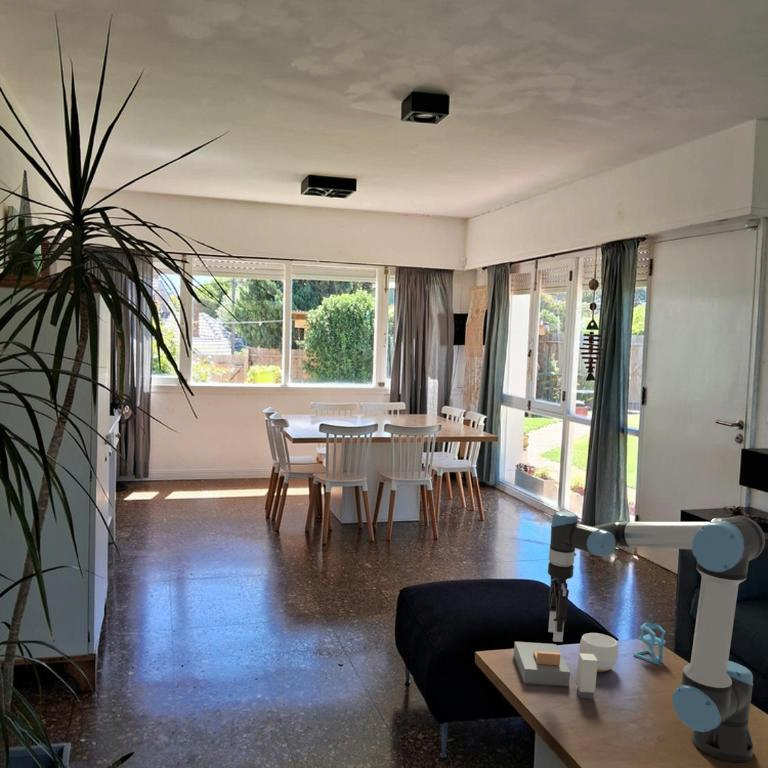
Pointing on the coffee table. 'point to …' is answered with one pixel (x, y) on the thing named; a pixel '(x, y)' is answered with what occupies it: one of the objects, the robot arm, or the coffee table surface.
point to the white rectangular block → (586, 675)
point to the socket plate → (540, 665)
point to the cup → (600, 649)
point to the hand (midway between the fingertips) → (555, 636)
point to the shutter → (547, 657)
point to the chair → (651, 643)
